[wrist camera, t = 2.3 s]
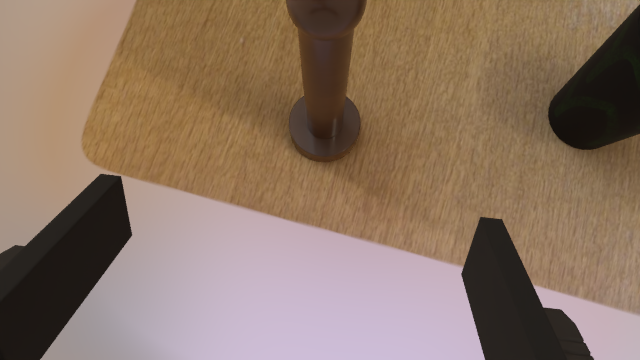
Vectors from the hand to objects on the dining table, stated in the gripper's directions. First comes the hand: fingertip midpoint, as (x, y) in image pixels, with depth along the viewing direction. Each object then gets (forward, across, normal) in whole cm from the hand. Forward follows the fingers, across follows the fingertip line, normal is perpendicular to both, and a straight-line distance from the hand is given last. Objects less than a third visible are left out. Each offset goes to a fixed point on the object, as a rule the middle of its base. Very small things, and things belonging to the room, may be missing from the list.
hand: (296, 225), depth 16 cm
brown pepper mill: (+20, 0, -5) cm, 20 cm away
